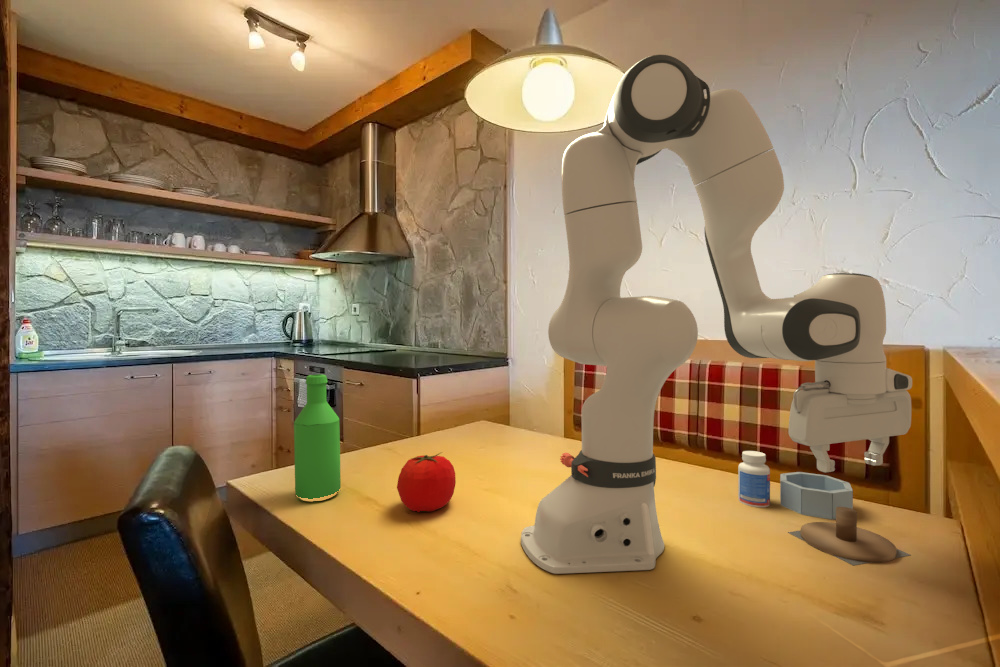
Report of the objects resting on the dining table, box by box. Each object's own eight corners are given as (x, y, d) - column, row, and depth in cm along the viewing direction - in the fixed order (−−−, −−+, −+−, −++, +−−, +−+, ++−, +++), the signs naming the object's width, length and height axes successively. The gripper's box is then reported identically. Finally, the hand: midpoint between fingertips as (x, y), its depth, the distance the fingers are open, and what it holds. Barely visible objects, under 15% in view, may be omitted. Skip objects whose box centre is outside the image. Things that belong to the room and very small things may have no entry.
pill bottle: (774, 510, 87) (774, 458, 87) (743, 508, 88) (743, 456, 88) (764, 499, 93) (764, 450, 93) (734, 497, 94) (734, 449, 94)
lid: (854, 567, 66) (854, 530, 66) (782, 531, 78) (782, 500, 77) (917, 556, 69) (917, 521, 69) (839, 523, 81) (839, 493, 81)
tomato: (470, 502, 93) (469, 450, 93) (426, 525, 82) (425, 467, 82) (427, 491, 99) (426, 442, 99) (381, 512, 88) (380, 457, 88)
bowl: (817, 523, 81) (817, 495, 81) (766, 500, 92) (766, 475, 92) (866, 516, 84) (866, 488, 84) (811, 495, 95) (811, 470, 95)
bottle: (341, 500, 94) (339, 376, 94) (294, 506, 91) (292, 378, 91) (339, 486, 103) (337, 372, 102) (296, 492, 99) (294, 374, 99)
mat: (853, 568, 67) (853, 565, 67) (787, 534, 77) (787, 532, 77) (911, 557, 69) (911, 554, 69) (840, 526, 80) (840, 524, 80)
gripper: (813, 386, 67) (814, 482, 67) (921, 377, 72) (921, 466, 72) (777, 381, 73) (778, 468, 74) (878, 372, 78) (879, 455, 79)
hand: (850, 467), depth 73 cm, fingers open, 8 cm apart
